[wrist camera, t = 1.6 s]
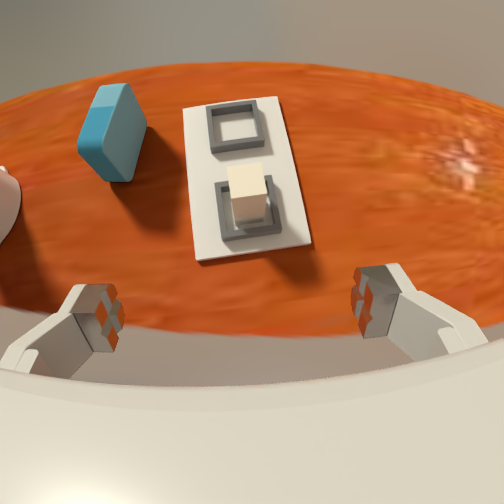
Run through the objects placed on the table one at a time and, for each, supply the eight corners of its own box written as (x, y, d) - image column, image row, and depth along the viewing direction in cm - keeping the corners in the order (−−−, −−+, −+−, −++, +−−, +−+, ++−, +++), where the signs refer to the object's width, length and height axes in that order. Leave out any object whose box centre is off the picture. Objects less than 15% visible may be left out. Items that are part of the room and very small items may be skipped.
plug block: (235, 225, 44) (230, 198, 35) (231, 199, 45) (226, 166, 36) (263, 221, 45) (267, 193, 35) (259, 195, 45) (261, 161, 36)
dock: (197, 261, 44) (193, 257, 41) (184, 112, 50) (180, 101, 47) (309, 244, 45) (313, 239, 42) (276, 99, 50) (277, 88, 48)
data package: (125, 123, 50) (101, 81, 38) (148, 123, 50) (127, 78, 38) (107, 184, 47) (73, 149, 35) (131, 185, 47) (101, 148, 35)
